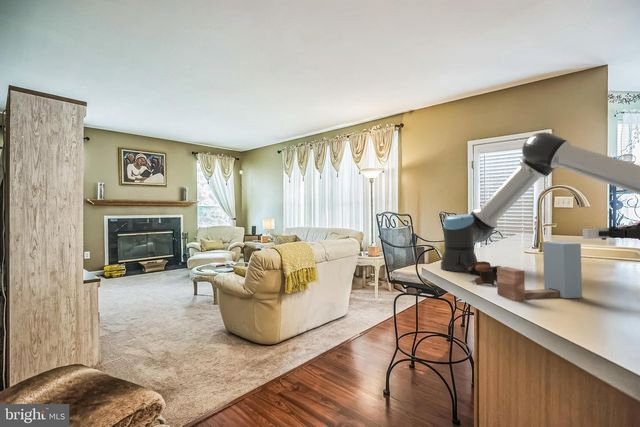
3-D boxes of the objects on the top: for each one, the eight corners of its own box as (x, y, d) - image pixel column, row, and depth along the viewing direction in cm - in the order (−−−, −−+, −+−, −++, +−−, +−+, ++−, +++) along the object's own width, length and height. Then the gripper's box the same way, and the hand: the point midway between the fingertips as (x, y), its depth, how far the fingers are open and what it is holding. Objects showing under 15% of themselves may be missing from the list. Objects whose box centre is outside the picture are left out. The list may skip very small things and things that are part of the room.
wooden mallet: (514, 301, 82) (513, 271, 82) (497, 294, 89) (496, 267, 89) (587, 298, 83) (586, 268, 83) (565, 291, 90) (564, 265, 90)
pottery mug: (466, 285, 103) (461, 262, 107) (473, 292, 109) (468, 271, 114) (506, 279, 97) (499, 255, 101) (511, 287, 103) (504, 265, 107)
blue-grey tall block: (565, 298, 83) (563, 244, 83) (544, 291, 90) (543, 242, 90) (582, 297, 83) (580, 243, 83) (560, 291, 90) (558, 241, 90)
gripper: (690, 246, 82) (609, 249, 80) (636, 242, 95) (565, 245, 93) (688, 218, 82) (607, 220, 80) (635, 218, 95) (564, 220, 93)
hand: (585, 233), depth 87 cm, fingers closed
